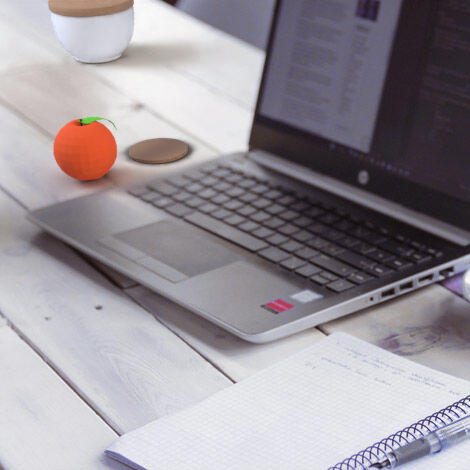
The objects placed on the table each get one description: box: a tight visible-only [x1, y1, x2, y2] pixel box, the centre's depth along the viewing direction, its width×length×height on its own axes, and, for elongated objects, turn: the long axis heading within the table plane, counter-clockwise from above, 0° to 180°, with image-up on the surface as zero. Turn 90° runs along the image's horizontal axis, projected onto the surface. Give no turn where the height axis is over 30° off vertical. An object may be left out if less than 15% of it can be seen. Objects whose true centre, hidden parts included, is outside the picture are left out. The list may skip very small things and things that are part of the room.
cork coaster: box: [128, 137, 189, 164], centre depth 115 cm, size 7×7×1 cm
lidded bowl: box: [47, 0, 135, 64], centre depth 146 cm, size 13×13×11 cm
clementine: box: [52, 116, 118, 182], centre depth 107 cm, size 8×7×7 cm
